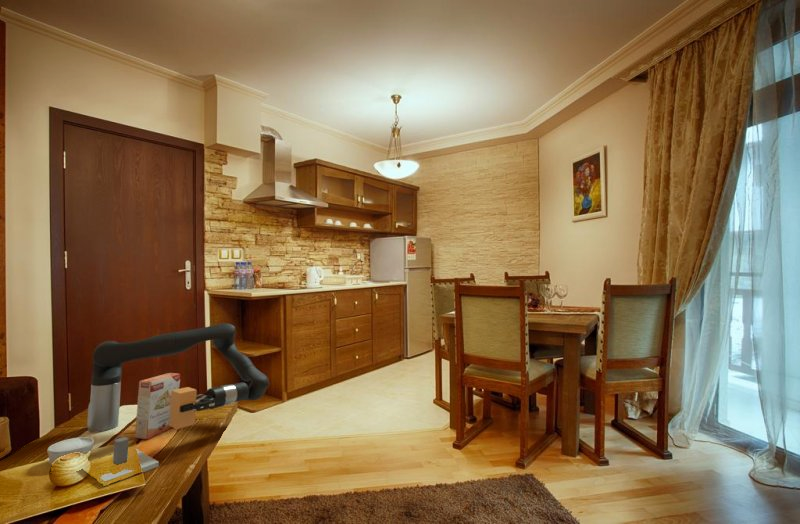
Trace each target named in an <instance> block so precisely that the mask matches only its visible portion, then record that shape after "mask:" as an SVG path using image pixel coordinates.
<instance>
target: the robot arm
mask: <svg viewBox="0 0 800 524" xmlns="http://www.w3.org/2000/svg"><path fill="white" fill-rule="evenodd" d="M235 338H236V327H235V325H233V324H232V323H218V324H213V325H209V326H205V327H201V328H194V329H189V330H183V331H176V332H175V331H174V332H169V333H167V332H166V333H163V334H159V335H157V334H156V335H154V336H151V337H146V338H145V339H144V338H143V339H140V340H137V341H130V342H129V341H128V342H127V341H126V342H118V341H114V340H105V341H103V342H101V343H99V344H98V345H96V347H95V349H94V350H93V353H92V362H93V363H92V371H91V373H92V374H91V384H90V398H89V400H90V402H89V403H88V407H87V408H88V409H87V421H86V422H87V424H86V429H87V430H88V432H105V431H107V430H111V429H115V428H116V427H118V426H119V421H120V420H119V417H120V403H121V388H122V387H121V386H122V374H123V364H125V363H128V362H132V361H137V360H140V359H153V358H158V357H166V356H167V357H168V356H172V355H179V354H181V353H184V352H186V351H188V350H189V349H192V348H193V347H195V346H197V345H199V344H201V343H203V342H207V341H212V345H213V346H214V348H216V350H218V352H220V354H222V355H223V356H224V357H225V358H226V360H227V361H228V362H229V363H230V364H231V366H232V367H233V368H234V370H235V371H236V373H237V374H238V376H239V378H240V379H241V380H242V381H243V382H241V381H240V382H236V383H231V384H224V385H220V386H216V387H211V388H208V389H206V391H205V394H202V393H200V394H196V402H193V403H190V404H186V405H182V406H180V412H186V411H190V410H193V411H194V410H195V412H201V411H204V410H214V409H218V408H221V407H224V406H228V405H231V404H233V403H237V402H239V401H240V402H241V401H258V400H259V399H261V398H262V397H263V396H264V394H265V393H266V391H267V389H268V387H269V386H270V380H269V378H268V375H266V374H265V373H263V372H262V371H260V369H257V368H256V366H255V365H254V364H253V362H252V360H251V359H250V358H249V357H248V356H247V355H245V354H243V353H241V352H240V351H239V350H238V348H237V346H236V344H235V340H236V339H235ZM249 381H250V383H249V385H248V383H246V382H249Z"/></svg>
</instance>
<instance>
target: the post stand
mask: <svg viewBox="0 0 800 524" xmlns="http://www.w3.org/2000/svg"><path fill="white" fill-rule="evenodd" d="M129 442H130V441H129V438H127V437H126V436H123V437H120V438H116V439H114V440H113V463H114V464H116V465H119V464H122V463H126V462H127V459H128V448H129ZM135 449H136V450H137V453H138V457H139V461H140V466H141V469H142V471H143V473H145V472H149V471H151V470H154V469H157V468H159V467H160V465H159V464H160V463H159V461H158V460H157V459H155V458H153V457H151V456H149V455H148V454H146V453H145V452H143V451H140V450H139V449H137V448H135ZM133 471H134V470H133ZM133 471H132V470H128V469H127V470H126V469H124V470H122V471H121V472H118V473H116V474H112V473H109V474H104V475H102V477H100V478H101V479H102V480H103V481H104V482H106V481H109V480H112V479H114V478H117V477H119V476H122V475H125V474H128V473H131V472H133Z"/></svg>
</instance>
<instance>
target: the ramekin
mask: <svg viewBox="0 0 800 524" xmlns="http://www.w3.org/2000/svg"><path fill="white" fill-rule="evenodd" d="M94 444H95V439H94V438H92V437H86V436H84V437H83V436H82V437H81V436H80V437H73V438H67V439H64V440H61V441H58V442H56V443H52V444H51V445H50V446H49V447H48V448H47V451H46V452H47V455H48V460H49V464H50V465H51V464H52V463H53V462H54V461H55V460H56V459H57V458H59V457H61V456H64V455H67V454H70V453H74V452H80V453H83V454H87V453H88V452H89V451H91V452H92V449H93V446H94Z"/></svg>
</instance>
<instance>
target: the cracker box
mask: <svg viewBox="0 0 800 524" xmlns="http://www.w3.org/2000/svg"><path fill="white" fill-rule="evenodd" d="M180 384H181V374H180V373H175V372H166V373H163V374H160V375H157V376H153V377H150V378H146V379H142V380H140V381H139V382H138V394H137V406H136V407H137V409H136V420H135V422H136V423H135V431H134V432H135V433H134V434H135V435H134V438H135V439H141V440H149V439H151V438H154V437H156V436H158V435H161V434H162V433H165V432H166V431H169V430H171V429H172V428H174V427H171V426H169V417H170V403H171V390H176V389H180Z"/></svg>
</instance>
